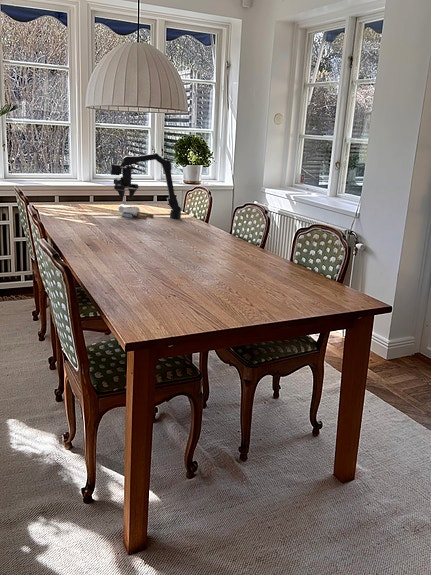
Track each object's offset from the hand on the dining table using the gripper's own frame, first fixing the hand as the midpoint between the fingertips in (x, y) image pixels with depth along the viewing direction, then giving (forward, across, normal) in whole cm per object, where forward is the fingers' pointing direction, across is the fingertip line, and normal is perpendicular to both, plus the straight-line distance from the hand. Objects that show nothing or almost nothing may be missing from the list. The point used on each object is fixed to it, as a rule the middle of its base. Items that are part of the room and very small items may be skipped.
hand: (126, 199), depth 346 cm
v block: (+12, 0, +3) cm, 12 cm away
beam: (+12, -7, +3) cm, 14 cm away
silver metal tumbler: (+9, 0, +3) cm, 10 cm away
